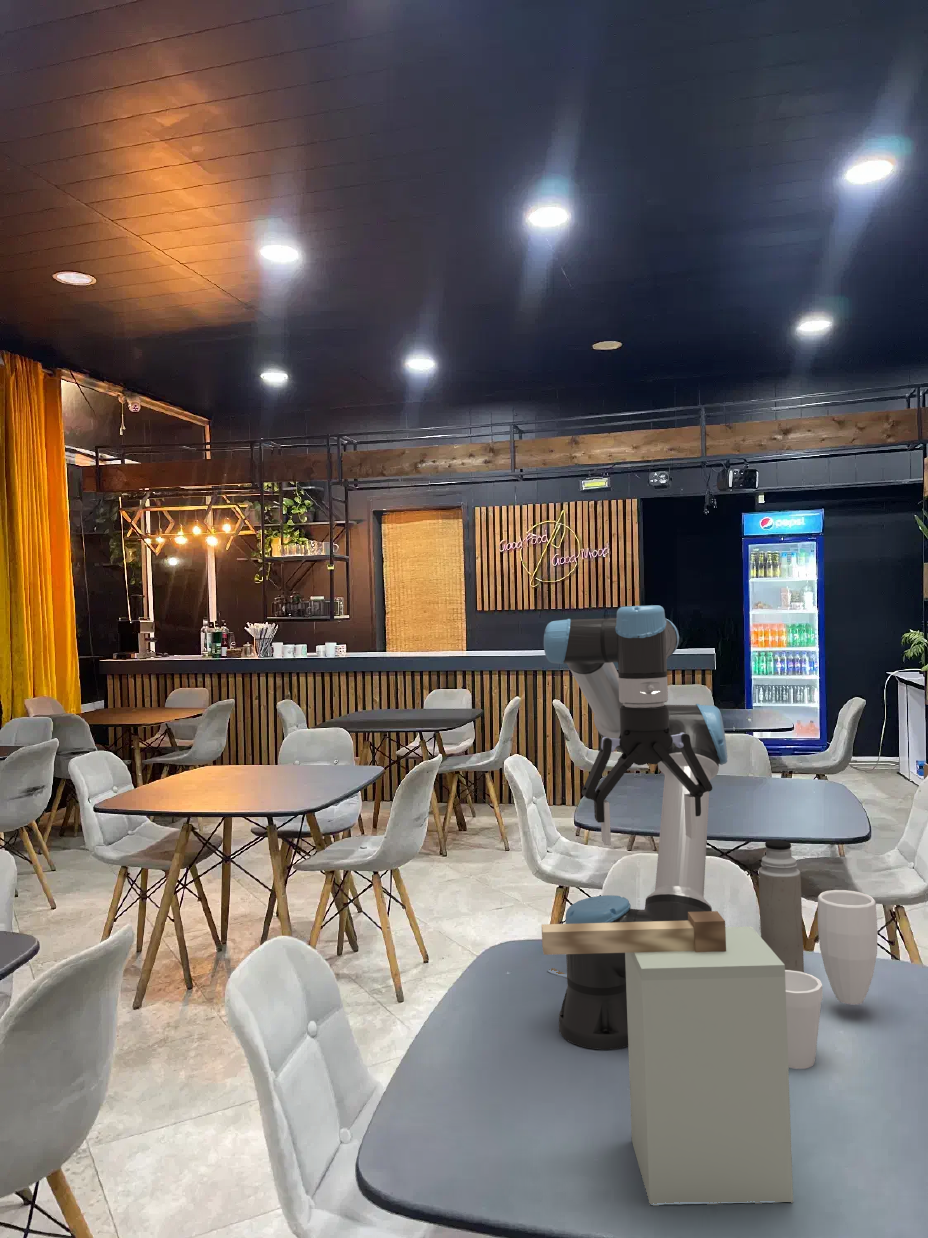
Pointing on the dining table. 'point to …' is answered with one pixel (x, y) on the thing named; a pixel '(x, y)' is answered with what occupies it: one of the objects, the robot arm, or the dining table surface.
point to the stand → (710, 1072)
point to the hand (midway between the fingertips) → (648, 840)
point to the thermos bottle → (781, 904)
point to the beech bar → (637, 936)
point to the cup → (848, 942)
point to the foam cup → (802, 1017)
